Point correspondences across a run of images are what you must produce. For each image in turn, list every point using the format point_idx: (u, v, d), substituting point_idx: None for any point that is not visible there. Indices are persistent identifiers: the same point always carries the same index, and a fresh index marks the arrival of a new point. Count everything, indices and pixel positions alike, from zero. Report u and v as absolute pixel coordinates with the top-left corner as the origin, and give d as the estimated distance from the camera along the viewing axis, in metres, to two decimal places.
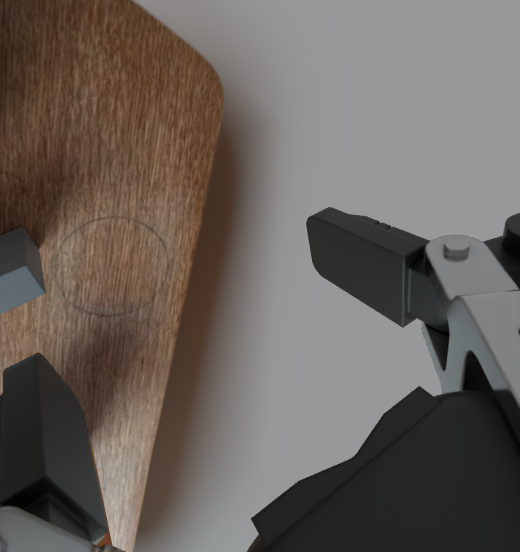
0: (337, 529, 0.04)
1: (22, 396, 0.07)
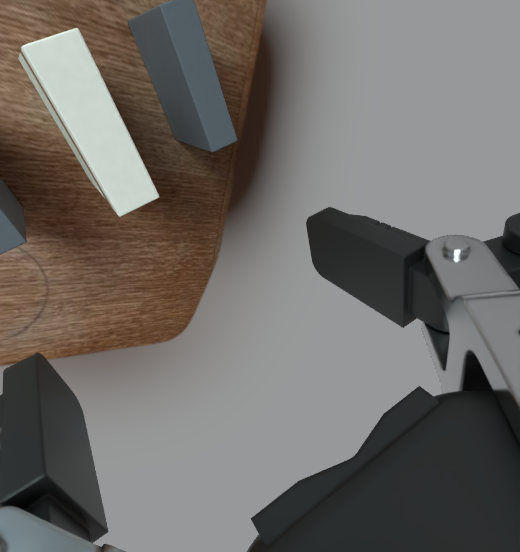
0: (337, 529, 0.04)
1: (22, 396, 0.07)
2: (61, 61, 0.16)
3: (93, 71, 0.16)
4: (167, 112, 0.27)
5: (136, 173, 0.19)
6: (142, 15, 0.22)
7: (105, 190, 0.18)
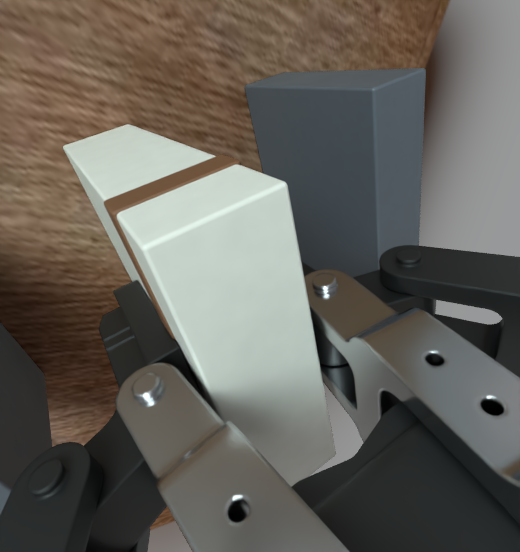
0: (337, 529, 0.04)
1: (137, 305, 0.09)
2: (231, 265, 0.06)
3: (293, 273, 0.06)
4: None
5: (313, 434, 0.09)
6: (297, 89, 0.12)
7: None
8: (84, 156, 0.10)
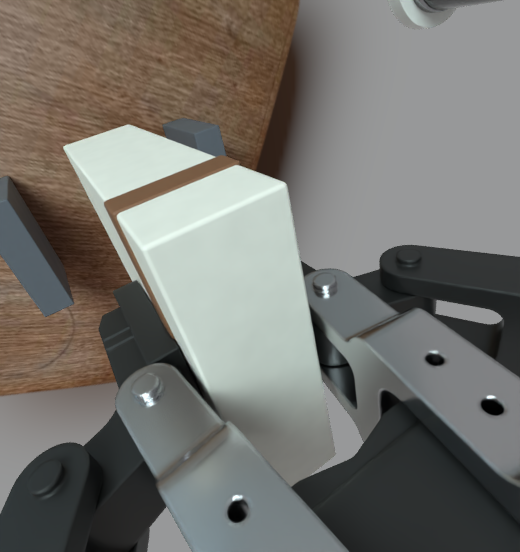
0: (337, 529, 0.04)
1: (137, 305, 0.09)
2: (232, 265, 0.06)
3: (292, 274, 0.06)
4: None
5: (313, 434, 0.09)
6: (177, 130, 0.28)
7: None
8: (84, 156, 0.10)
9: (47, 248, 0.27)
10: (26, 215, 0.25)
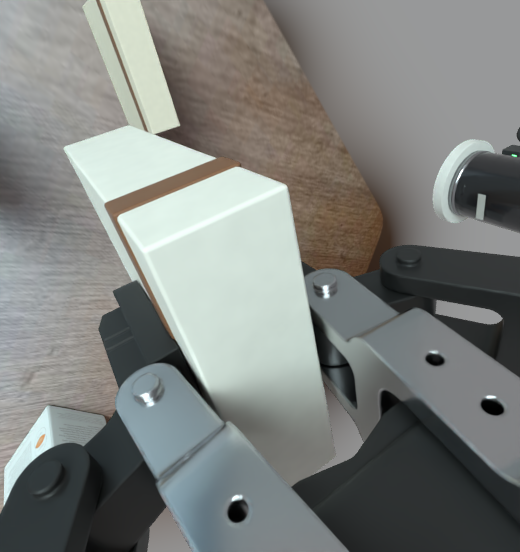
0: (337, 529, 0.04)
1: (137, 305, 0.09)
2: (232, 267, 0.06)
3: (293, 275, 0.06)
4: None
5: (313, 435, 0.09)
6: None
7: None
8: (85, 157, 0.10)
9: None
10: None
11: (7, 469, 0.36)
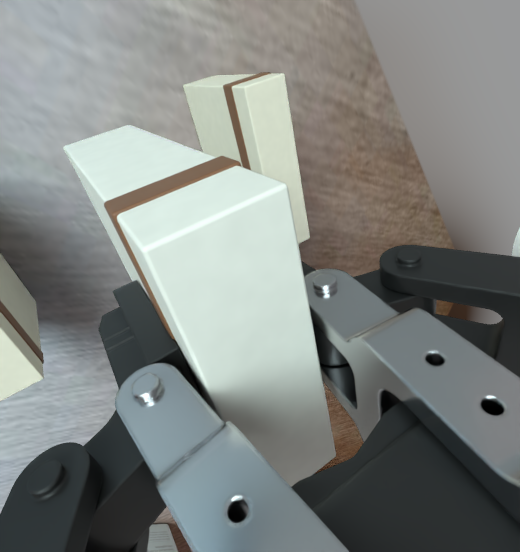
0: (337, 529, 0.04)
1: (137, 305, 0.09)
2: (232, 266, 0.06)
3: (293, 275, 0.06)
4: None
5: (313, 435, 0.09)
6: None
7: None
8: (84, 157, 0.10)
9: None
10: None
11: None
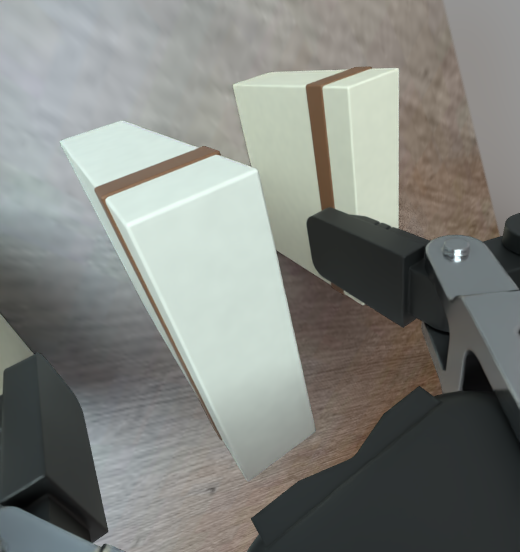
0: (337, 529, 0.04)
1: (22, 396, 0.07)
2: (208, 243, 0.06)
3: (266, 254, 0.07)
4: None
5: (292, 409, 0.10)
6: None
7: (235, 451, 0.09)
8: (79, 150, 0.11)
9: None
10: None
11: None
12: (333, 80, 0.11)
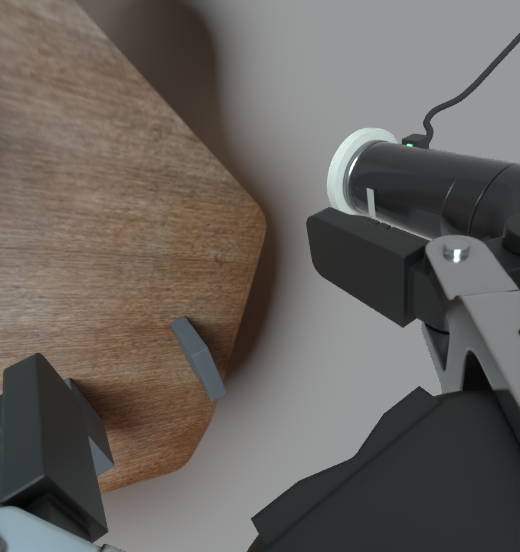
0: (337, 529, 0.04)
1: (22, 396, 0.07)
2: None
3: None
4: (187, 359, 0.47)
5: None
6: (180, 340, 0.41)
7: None
8: None
9: (95, 424, 0.40)
10: (83, 411, 0.39)
11: None
12: None
